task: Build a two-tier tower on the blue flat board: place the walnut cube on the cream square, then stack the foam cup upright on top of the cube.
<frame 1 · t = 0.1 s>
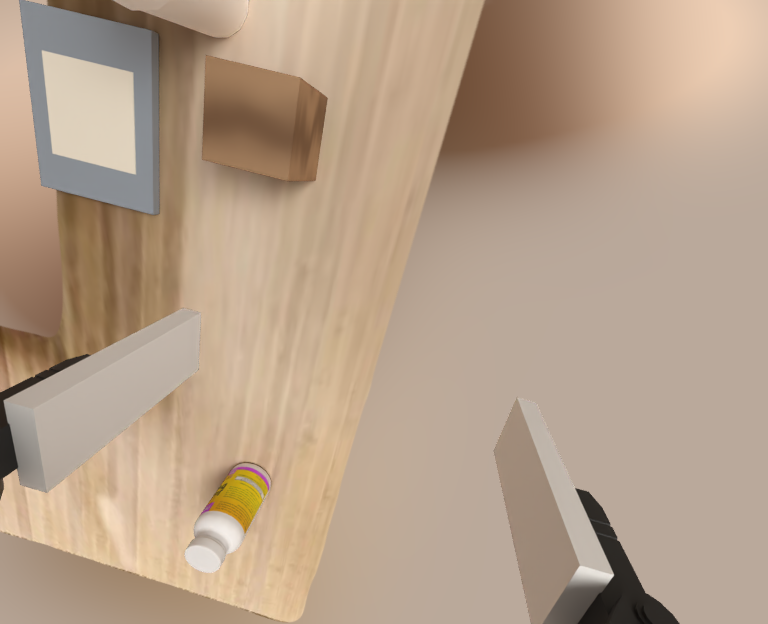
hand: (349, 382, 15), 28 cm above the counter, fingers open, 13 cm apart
walnut cube: (285, 131, 38), on the counter
blue flat board: (99, 116, 40), on the counter
supplement bottle: (252, 477, 56), on the counter
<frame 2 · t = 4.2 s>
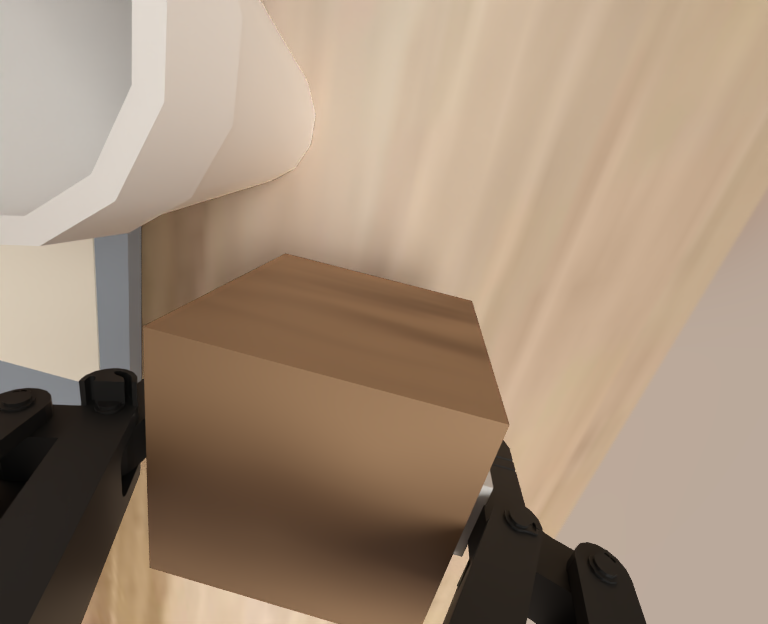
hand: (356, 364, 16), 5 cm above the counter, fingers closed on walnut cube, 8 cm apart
walnut cube: (359, 359, 16), point 5 cm above the counter, touching gripper
foam cup: (256, 115, 18), on the counter
blue flat board: (36, 291, 23), on the counter
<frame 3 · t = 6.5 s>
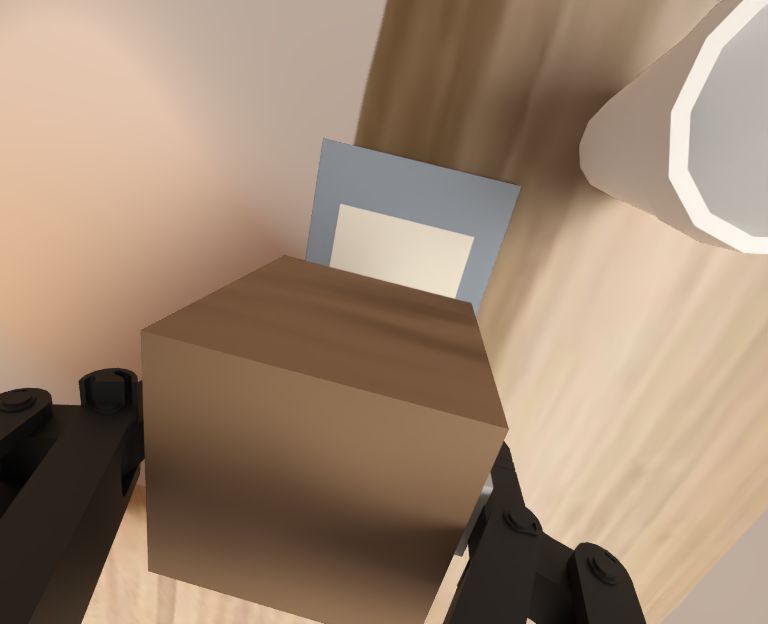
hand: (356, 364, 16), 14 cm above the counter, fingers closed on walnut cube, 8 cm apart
walnut cube: (358, 361, 16), point 14 cm above the counter, touching gripper
foam cup: (628, 145, 24), on the counter
blue flat board: (392, 281, 29), on the counter
when the fingers open (1 cm above the counter, at t = 9.1 s): walnut cube stays where it is, resting on blue flat board.
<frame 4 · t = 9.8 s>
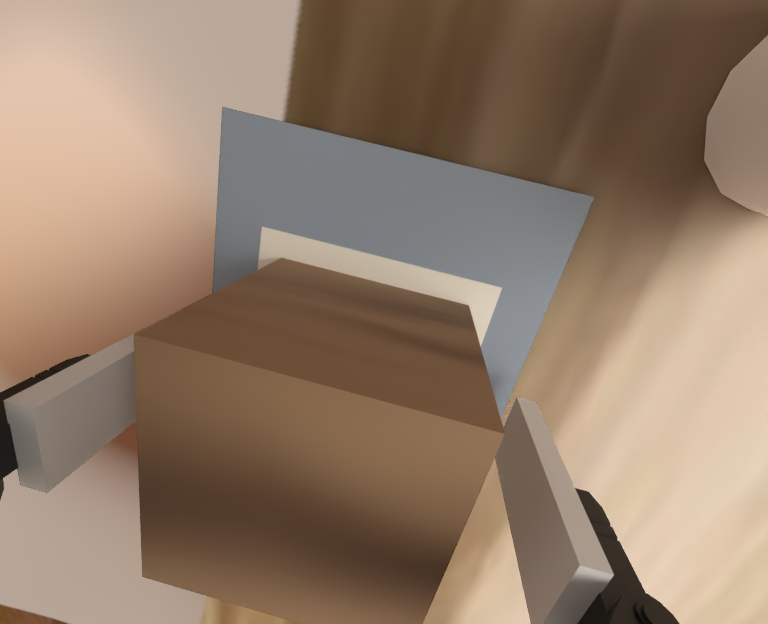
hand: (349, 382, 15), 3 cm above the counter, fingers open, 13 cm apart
walnut cube: (355, 364, 16), point 1 cm above the counter, touching blue flat board
blue flat board: (360, 352, 17), on the counter
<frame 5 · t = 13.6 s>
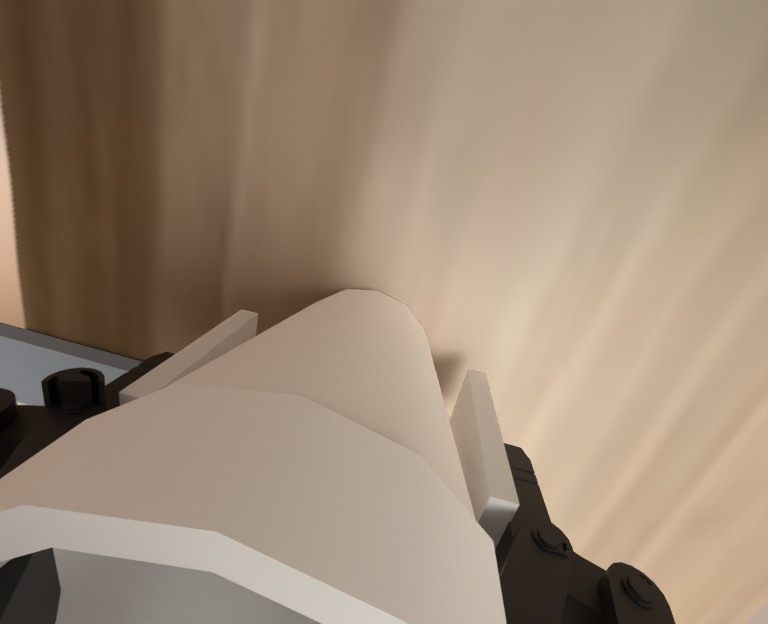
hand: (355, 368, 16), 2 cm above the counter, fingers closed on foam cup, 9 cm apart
foam cup: (363, 350, 17), on the counter, touching gripper
blue flat board: (120, 477, 23), on the counter
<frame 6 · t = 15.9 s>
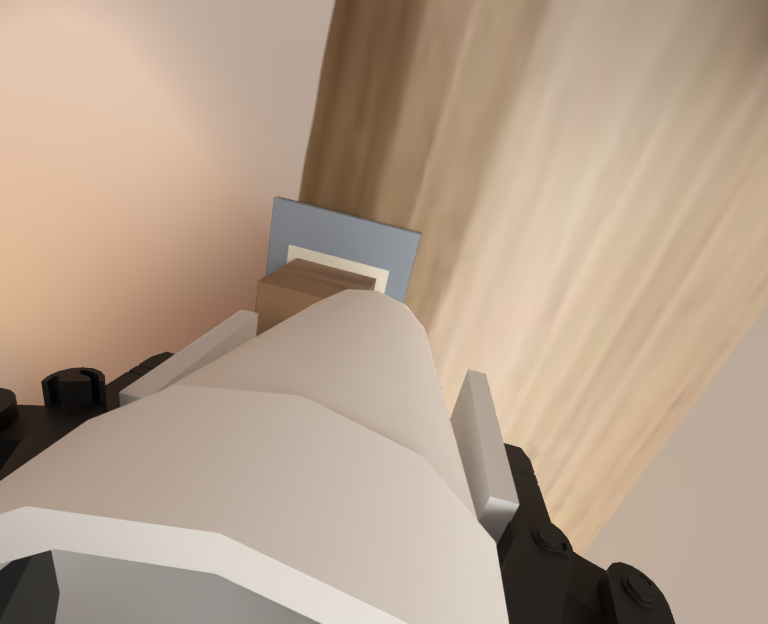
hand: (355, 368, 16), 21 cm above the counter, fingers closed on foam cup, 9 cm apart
walnut cube: (329, 305, 36), point 1 cm above the counter, touching blue flat board
foam cup: (363, 350, 17), point 19 cm above the counter, touching gripper
blue flat board: (333, 301, 37), on the counter
when the fingers open (12 cm above the counter, at t = 18.3 s): foam cup drops 1 cm, resting on walnut cube.
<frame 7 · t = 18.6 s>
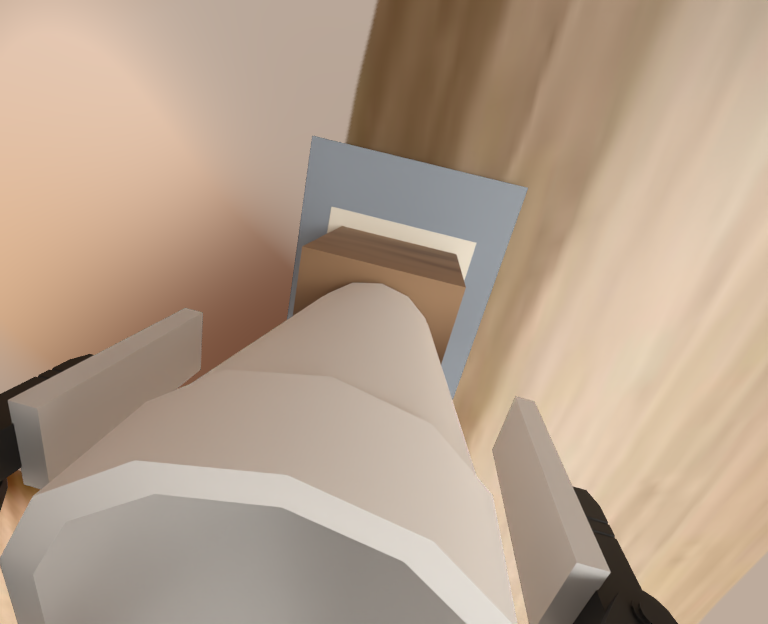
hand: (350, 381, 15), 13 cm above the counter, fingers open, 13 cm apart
walnut cube: (385, 294, 26), point 1 cm above the counter, touching blue flat board, foam cup
foam cup: (368, 339, 19), point 9 cm above the counter, touching walnut cube
blue flat board: (388, 289, 27), on the counter
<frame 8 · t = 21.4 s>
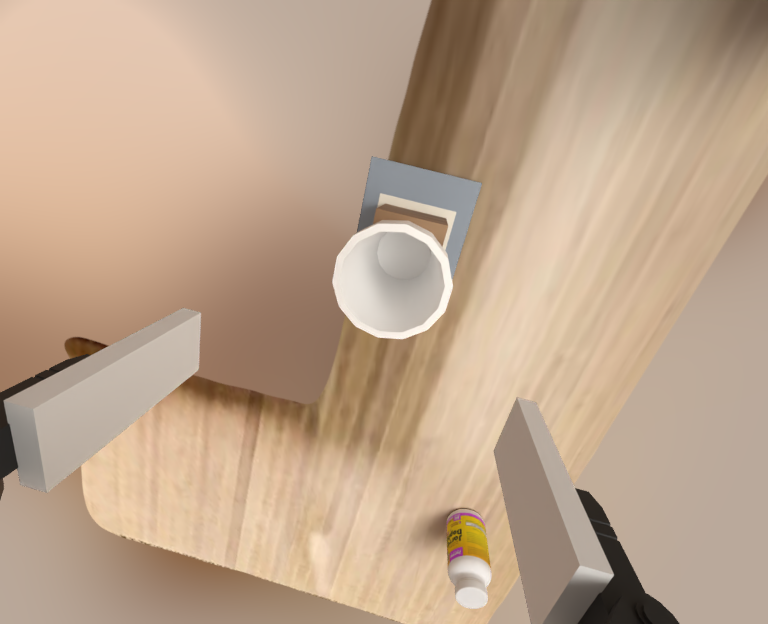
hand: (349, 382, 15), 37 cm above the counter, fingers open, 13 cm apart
walnut cube: (408, 241, 48), point 1 cm above the counter, touching blue flat board, foam cup
foam cup: (404, 252, 41), point 9 cm above the counter, touching walnut cube
blue flat board: (409, 239, 49), on the counter
supplement bottle: (464, 519, 65), on the counter
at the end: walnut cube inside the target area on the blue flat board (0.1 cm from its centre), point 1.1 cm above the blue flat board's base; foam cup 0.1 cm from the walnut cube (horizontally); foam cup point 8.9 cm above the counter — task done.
